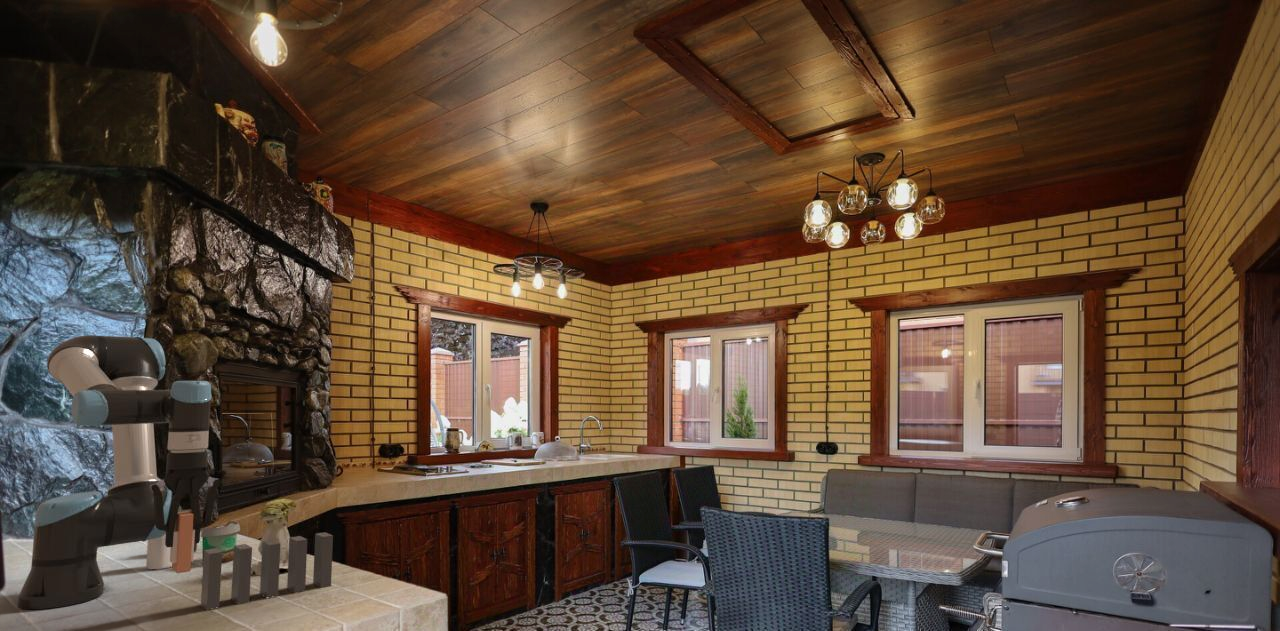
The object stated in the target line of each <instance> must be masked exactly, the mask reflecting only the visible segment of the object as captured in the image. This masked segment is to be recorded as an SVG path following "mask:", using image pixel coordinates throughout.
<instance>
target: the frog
mask: <svg viewBox="0 0 1280 631" xmlns="http://www.w3.org/2000/svg"><path fill="white" fill-rule="evenodd" d="M296 508H297V503H296V501H295V500H294V499H289V498H279V499H277V498H276V499H275V500H271V501H268V502H266V503H265V505H264V506H263V508H261V510H260V513H259V516H260V520H261V522H262V521H263V522H267V525H266V526H265V529H264V531H263V534H262V537H261V538H260V539H259V544H258V548H257V550H258V552H259V553H260V556H261V557H262V541H269V540H275V541H277V542H279V543H281V544H280V565H279V569H286V571H288V558H289V538H290V537H291V536H290V533H289V532H290V531H289V530H288V527H287V526H286V525H288V522H289V516H290V515H291V514H292V513H293V512H294V511H295V510H296ZM253 562H254V563H251V575H252V574H255V575H256V576H261V561H258V562H257V563H255V562H256V560H255V559H254V560H253ZM254 572H255V573H254Z"/></svg>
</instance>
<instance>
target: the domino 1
mask: <svg viewBox="0 0 1280 631" xmlns="http://www.w3.org/2000/svg"><path fill="white" fill-rule="evenodd" d="M193 516H194V514H192V513H190V512H188V511H187V512H178V514H177V519H176V524H175V529H174V530H176V531H178V544H177V561H176V563H172V567H171V570H172V571H173V572H175V573H176V574H181V573H182V574H183V573H188V572H191V567H192V564H191V563H192V561H191V551H192V533H193Z"/></svg>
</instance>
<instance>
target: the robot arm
mask: <svg viewBox="0 0 1280 631" xmlns="http://www.w3.org/2000/svg"><path fill="white" fill-rule="evenodd" d="M165 366H166V356H165V351H164V349H163V346H162V344H161V343H160V342H159V341H158V340H156V339H154V338H152V337H151V338H149V337H141V336H113V335H112V336H110V335H109V336H108V335H95V334H94V335H93V334H89V335H80V336H75V337H73V338H70V339H66V340H65V341H63V342H61V343H59V344H57V346H55V347H54V348H53V349H52V350H51V352H50V354H48V357H47V360H46V367H47V370H48V373H49V374H50V376H51V377H52V378H53V379H54V380H55V381H56V382H58V383H60V384H63V386H65V388H66V389H67V391H68V392H69V393H70V394H71V396H72V400H71V405H70V414H71V415H70V416H71V420H72V423H73V424H75V425H76V426H79V427H80V426H84V427H85V426H87V427H88V426H89V427H90V426H91V427H99V426H112V443H113V444H112V445H113V446H112V447H113V451H112V452H113V468H114V469H113V470H114V474H113V475H114V483H113V485H111V487H110V488H109V489H107V496H103V495H102V492H100V491H96V490H95V491H93V490H92V491H85V492H78V493H71V494H66V495H61V496H57V497H53V498H51V499H47V500H45V501H43V502H41V503H40V504H39V506H38V507H37V509H36V512H35V518H34V522H33V527H34V528H33V529H34V531H33V532H34V533H33V543H32V555H31V565H30V566H31V567H30V571H29V573H28V576H26V579H25V581H24V583H23V586H22V588H21V590H20V592H19V595H18V599H17V607H18V608H20V609H24V610H25V609H26V610H40V609H41V610H43V609H52V608H54V609H55V608H61V607H66V606H67V607H68V606H71V605H76V604H81V603H85V602H89V601H91V600H94V599H97V598H99V597H101V596H102V595H103V594H104V589H105V587H104V586H105V583H104V579H103V576H102V572H101V571H100V566H99V565H98V560H97V558H98V557H97V555H98V548H103V547H111V546H116V545H123V544H124V545H125V544H131V543H137V542H143V543H144V542H146V541H148V540H150V539H156V538H160V537H162V536H164V535H165V534H166V538H165V545H166V547H171V548H170V562H171V563H176V561H177V544H178V531H176V530H174V529H175V524H176V519H177V514H178V511H179V508H180V505H181V504H180V503H181V500H182V496H183V495H185V494H188V496H189V502H190V510H191V513H192V514H194V516H193V533H192V551H191V562H192V561H194V555H195V552H194V544H196V543H197V544H199V542H200V540H201V529H202V527H204V526H206V525H207V526H208V525H210V524H211V522H212V516H213V511H214V505H215V501H216V495H217V490H218V489H219V487H220V486H221V483H222V480H221V479H220V478H216V477H215V478H214V477H211V476H210V473H209V471H208V458H209V457H208V456H209V455H208V451H207V450H206V449H207V448H209V434H210V433H209V430H210V419H211V405H212V404H211V401H212V397H213V395H212V384H211V383H210V382H209V381H207V380H176V381H173V382H172V385H171V388H170V389H154V388H156V387H157V386H158V383H159V382H158V381H161V380H162V379H163V377H164V375H165V373H166V372H165V371H166V367H165ZM167 423H168V424H169V425H168V437H167V439H168V441H167V450H168V451H169V452H168V453H167V455H166V468H165V469H166V470H165V471H166V472H165V474H164V475H163V478H162V479H161V478H159V477H158V475H157V474H158V472H157V458H156V444H155V430H154V429H155V428H154V425H155V424H167ZM205 484H206V485H207V486H206V487H208V488H207V491H206V496H205V502H204V506H203V511H202V516H201V507H200V489H202V487H203V485H205ZM165 487H167V489H166V488H165Z"/></svg>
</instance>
